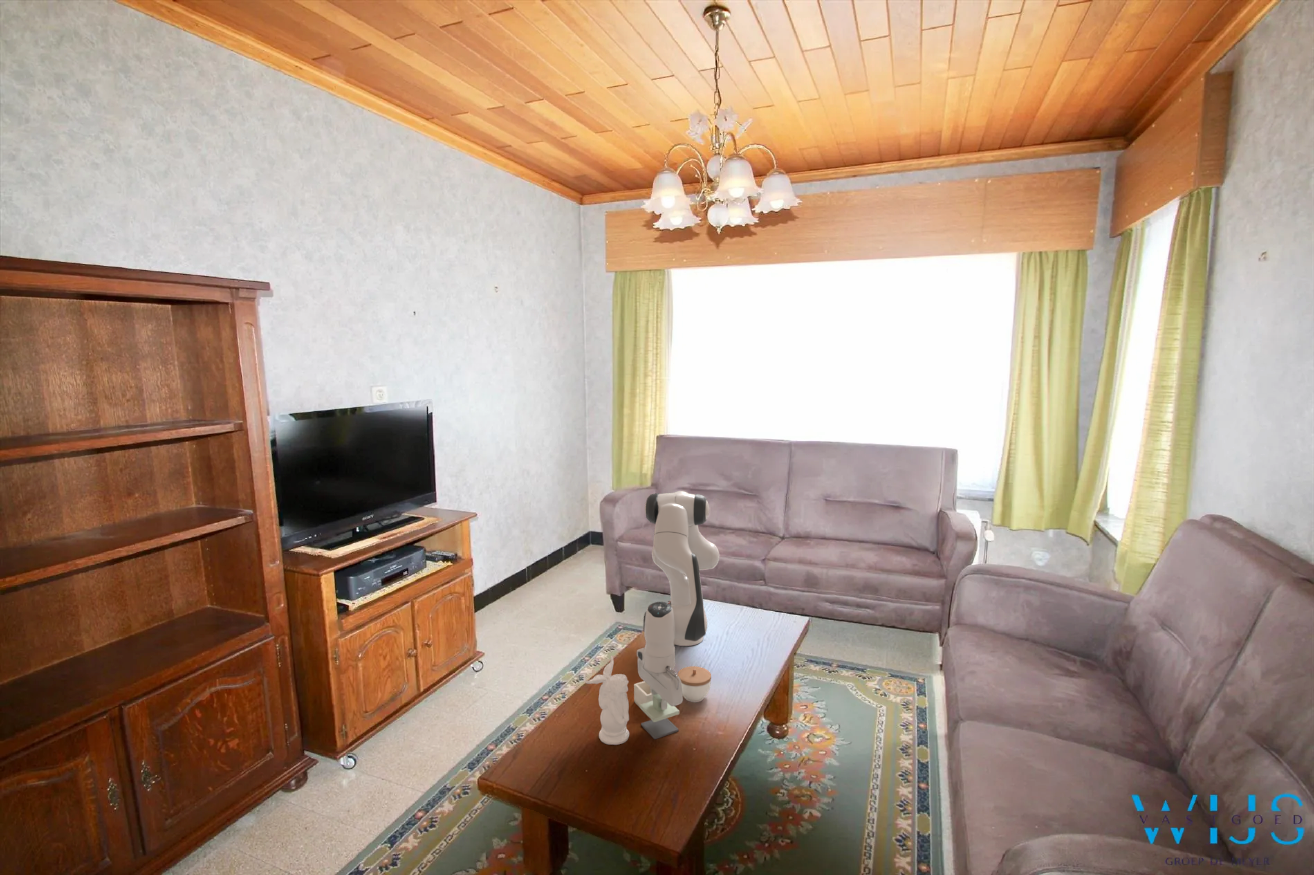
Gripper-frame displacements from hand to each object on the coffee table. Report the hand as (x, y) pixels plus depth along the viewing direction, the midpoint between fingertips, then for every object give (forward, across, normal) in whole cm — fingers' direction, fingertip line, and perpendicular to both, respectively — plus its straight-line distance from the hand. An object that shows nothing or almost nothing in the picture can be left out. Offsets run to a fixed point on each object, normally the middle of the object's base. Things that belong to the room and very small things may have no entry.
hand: (659, 704), depth 178 cm
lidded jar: (+8, +9, -18) cm, 22 cm away
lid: (+2, 0, 0) cm, 2 cm away
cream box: (+7, +12, -4) cm, 15 cm away
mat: (+7, 0, 0) cm, 7 cm away
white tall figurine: (+8, +4, +15) cm, 17 cm away
